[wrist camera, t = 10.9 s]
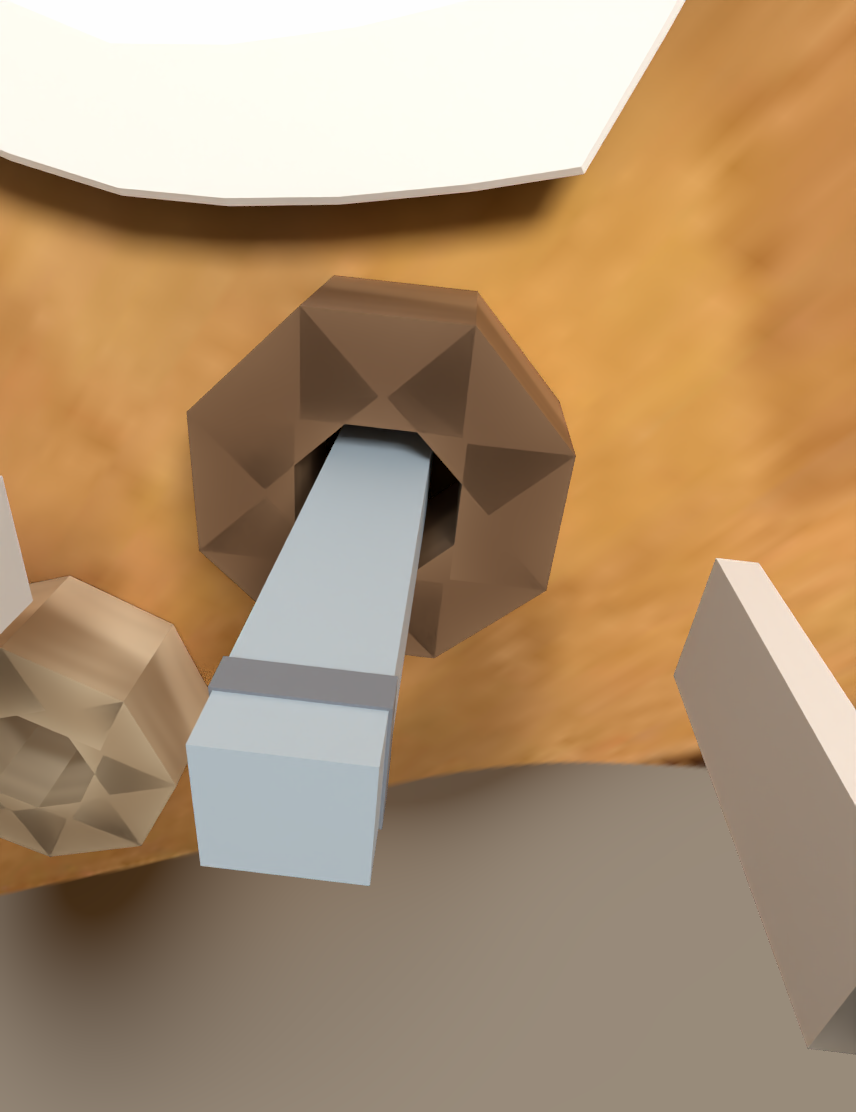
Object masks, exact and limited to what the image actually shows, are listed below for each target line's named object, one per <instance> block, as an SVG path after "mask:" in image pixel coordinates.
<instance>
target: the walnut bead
mask: <svg viewBox="0 0 856 1112" xmlns="http://www.w3.org/2000/svg"><path fill="white" fill-rule="evenodd" d="M187 422H188V433H189V444H190V455H191V466H192V477H193V488H194V499H195V510H196V521H197V532H198V543H199V551H200V552H201V553H203V554H204V555H205V556H206V557H207V558H208V559H209V560H210V561H211V562H212V563H214V564H215V565H216V566H217V567H218V568H219V569H220V570H221V571H222V572H223V573H225V574H226V575H227V576H228V577H229V578H230V579H231V580H232V581H233V582H234V583H236V584H237V585H238V586H239V587H240V588H241V589H242V590H243V591H244V592H245V593H247V594H248V595H249V596H250V597H251V598H252V599H253V600H254V601H255V602H256V601H257V599H258V597H259V595H260V593H261V591H262V589H263V587H264V585H265V583H266V581H267V578H268V576H269V574H270V572H271V570H272V568H273V566H274V564H275V562H276V560H277V558H278V556H279V554H280V552H281V550H282V548H283V546H284V544H285V542H286V540H287V538H288V536H289V534H290V532H291V530H292V528H293V526H294V524H295V522H296V520H297V518H298V516H299V514H300V512H301V510H302V508H303V506H304V503H305V501H306V499H307V497H308V495H309V493H310V491H311V489H312V487H313V485H314V483H315V481H316V479H317V477H318V475H319V473H320V471H321V469H322V467H323V465H324V463H325V447H326V439H327V438H328V437H330V436H331V435H332V434H333V433H335V432H336V431H337V430H338V429H339V428H341V427H342V426H343V425H344V424H349V425H358V426H367V427H376V428H384V429H393V430H402V431H411V432H417V433H418V434H419V435H420V436H421V437H422V439H423V440H424V441H425V442H426V443H427V444H428V446H429V447H430V448H431V449H432V450H433V451H434V453H435V454H436V455H437V456H438V457H439V458H440V460H441V461H442V462H443V463H444V464H445V465H446V466H447V468H448V469H449V470H450V471H451V472H452V473H453V475H454V476H455V477H456V478H457V479H458V481H456V482H455V483H453V484H452V485H451V486H449V487H448V488H446V489H445V490H444V491H442V492H441V493H439V494H438V495H437V496H435V497H434V498H432V499H431V500H430V501H428V504H427V510H426V517H425V523H424V530H423V537H422V543H421V550H420V557H419V563H418V570H417V576H416V583H415V590H414V596H413V603H412V609H411V616H410V623H409V629H408V636H407V643H406V649H405V655H411V656H419V657H428V658H435V657H437V656H439V655H440V654H442V653H444V652H445V651H447V650H449V649H450V648H452V647H454V646H455V645H457V644H459V643H460V642H462V641H464V640H465V639H467V638H469V637H470V636H472V635H473V634H475V633H477V632H478V631H480V630H482V629H483V628H485V627H487V626H488V625H490V624H492V623H493V622H495V621H497V620H498V619H500V618H502V617H503V616H505V615H507V614H508V613H510V612H512V611H513V610H515V609H516V608H518V607H520V606H521V605H523V604H525V603H526V602H528V601H530V600H531V599H533V598H535V597H536V596H538V595H540V594H541V593H543V592H545V591H546V589H547V585H548V580H549V576H550V571H551V566H552V562H553V557H554V553H555V548H556V544H557V539H558V534H559V530H560V525H561V521H562V516H563V512H564V507H565V503H566V498H567V493H568V489H569V484H570V480H571V475H572V471H573V466H574V461H575V457H576V455H575V452H574V449H573V445H572V442H571V439H570V435H569V432H568V429H567V425H566V422H565V419H564V415H563V412H562V408H561V405H560V402H559V400H558V399H557V398H556V396H555V395H554V394H553V392H552V391H551V390H550V388H549V387H548V386H547V384H546V383H545V382H544V380H543V379H542V378H541V376H540V375H539V373H538V372H537V371H536V369H535V368H534V367H533V365H532V364H531V363H530V361H529V360H528V359H527V357H526V356H525V355H524V353H523V352H522V351H521V349H520V348H519V347H518V345H517V344H516V343H515V341H514V340H513V339H512V337H511V336H510V335H509V333H508V332H507V331H506V329H505V328H504V327H503V325H502V324H501V323H500V321H499V320H498V318H497V317H496V316H495V314H494V313H493V312H492V310H491V309H490V308H489V306H488V305H487V304H486V302H485V301H484V300H483V298H482V297H481V296H480V294H479V293H478V292H477V291H470V290H461V289H452V288H443V287H434V286H425V285H416V284H407V283H398V282H389V281H380V280H371V279H362V278H353V277H344V276H335V275H334V276H333V277H332V278H330V279H329V280H328V281H327V282H326V283H325V284H324V285H323V286H321V287H320V288H319V289H318V290H317V291H316V292H315V293H314V294H312V295H311V296H310V297H309V298H308V299H307V300H306V301H305V302H303V303H302V304H301V305H300V306H299V307H298V308H297V309H296V310H295V311H294V312H293V313H292V314H290V315H289V316H288V317H287V318H286V319H285V320H284V321H283V322H282V323H281V324H280V325H279V326H278V327H277V328H276V329H275V330H273V331H272V332H271V333H270V334H269V335H268V336H267V337H266V338H265V339H264V340H263V341H262V342H261V343H260V344H259V345H257V346H256V347H255V348H254V349H253V350H252V351H251V352H250V353H249V354H248V355H247V356H246V357H245V358H244V359H243V360H241V361H240V362H239V363H238V364H237V365H236V366H235V367H234V368H233V369H232V370H231V371H230V372H229V373H228V374H227V375H225V376H224V377H223V378H222V379H221V380H220V381H219V382H218V383H217V384H216V385H215V386H214V387H213V388H212V389H211V390H210V391H208V392H207V393H206V394H205V395H204V396H203V397H202V398H201V399H200V400H199V401H198V402H197V403H196V404H195V405H194V406H192V407H191V408H190V409H189V410H188V411H187Z"/></svg>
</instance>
